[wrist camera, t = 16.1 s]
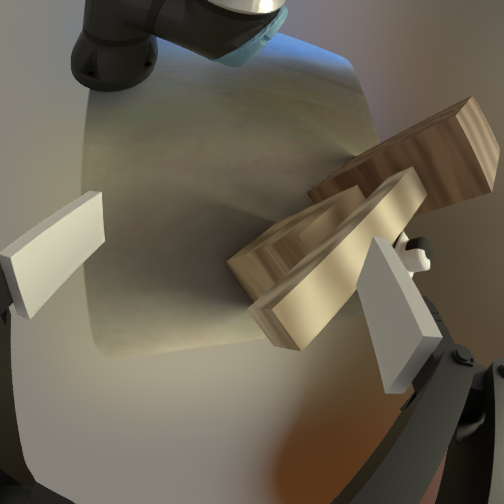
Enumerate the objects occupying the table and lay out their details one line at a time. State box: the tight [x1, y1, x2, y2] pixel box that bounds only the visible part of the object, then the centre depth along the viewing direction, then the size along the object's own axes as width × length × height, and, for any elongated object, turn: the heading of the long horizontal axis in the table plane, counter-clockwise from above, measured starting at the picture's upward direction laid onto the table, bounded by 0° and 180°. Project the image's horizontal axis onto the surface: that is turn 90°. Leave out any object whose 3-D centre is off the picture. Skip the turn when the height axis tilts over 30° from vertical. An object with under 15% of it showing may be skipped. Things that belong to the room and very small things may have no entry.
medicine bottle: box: [392, 232, 433, 279], centre depth 53 cm, size 7×7×12 cm
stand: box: [308, 95, 500, 217], centre depth 44 cm, size 18×10×30 cm, turn 129°
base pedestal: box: [225, 185, 366, 302], centre depth 39 cm, size 11×8×18 cm
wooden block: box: [247, 166, 428, 351], centre depth 29 cm, size 26×4×4 cm, turn 129°
